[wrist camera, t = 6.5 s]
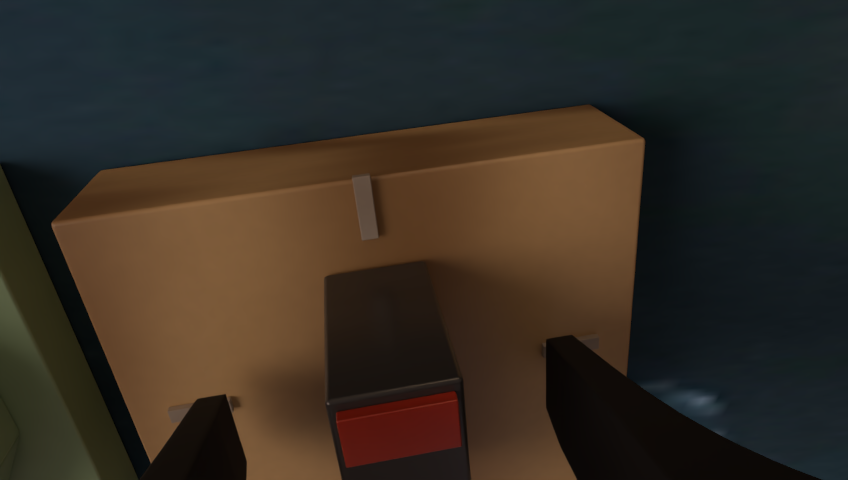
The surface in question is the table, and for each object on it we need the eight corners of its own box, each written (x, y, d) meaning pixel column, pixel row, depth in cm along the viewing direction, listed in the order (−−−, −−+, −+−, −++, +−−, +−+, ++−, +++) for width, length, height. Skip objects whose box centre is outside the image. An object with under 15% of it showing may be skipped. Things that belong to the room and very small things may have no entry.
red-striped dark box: (446, 458, 16) (484, 621, 12) (362, 474, 16) (375, 645, 12) (424, 258, 13) (467, 388, 9) (323, 274, 13) (324, 413, 9)
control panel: (208, 474, 19) (189, 568, 16) (97, 165, 14) (42, 221, 11) (580, 406, 20) (622, 482, 17) (590, 99, 15) (651, 135, 12)
